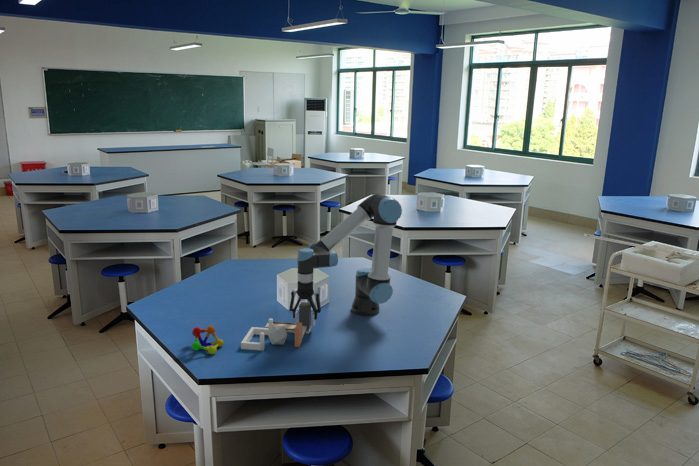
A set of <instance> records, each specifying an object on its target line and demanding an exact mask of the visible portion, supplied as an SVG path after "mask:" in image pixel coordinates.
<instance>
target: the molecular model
mask: <svg viewBox="0 0 699 466" xmlns="http://www.w3.org/2000/svg"><path fill="white" fill-rule="evenodd" d="M192 329H193V330H192V332H191V333H192V336H194V338H195V339H194V342H193V343H192V345H191V347H192V349H193V350H194V351H198V350H200V349H201V350H204V351H208V353H209V354H210V355H215V354H216V353H217V348H221V347H223V346H224V340H223V339H221V338H218V336H217V334H216V333H215V330H216V328H215V326H213V325H209V326H207V328H200V327H198V326H195V327H194V328H192ZM202 333H206V335H205V337H204V339H203V338H202V336H201V334H202ZM210 335H212V336H213V338H214V340H215V341H214V342H207V340H208V339H209V337H210Z"/></svg>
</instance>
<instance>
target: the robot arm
mask: <svg viewBox="0 0 699 466" xmlns="http://www.w3.org/2000/svg"><path fill="white" fill-rule="evenodd" d="M402 213H403V208H402V205H401V203H400V202H399V201H398V200H397V199H396V198H394V197H391V196H388V195H386V194H384V193H375V194H372V195H369V196H368V197H367V198H366V199H364V200H363V201H362V202H361V203H359V204H358V205H357V206H356V209H355V210H354V211H352V212H351V213H350V214H349V215H348V216H347V217H346V218H344V219H343V220H342V221H340V223H338V224H337V225H336V226H335V227H334V228H333V229H331V230H330V231H329V232H328V233H326V234H325V236H324V237H322V238H321V239H320V240H318V241H317V242H312V243H310V244H309V245H308V247H305V248H300V249H299V250H298V252H297V289H296V290H291V292H290V295H291V298H290V302H289V307H288V308H289V310H288V311H290V312H292V318H293V319H294V323H295V325H297V323H298V322H299V310H297V309H298V308H299V305H300V303H301V302H302V301H301V300H306V301H307V302H308V303H310V304H311V310H312V311H313V313H312V327H315V325H316V320H317V319H318V314H320V313H321V312H322V307H321V302H320V291H317V292H316V291H315V290H314V281H313V280H314V269H321V268H331V267H332V268H333V267H336V266H338V263H339V256H338V253H337V252H336V251H334V250H333V249H334V248H335V247H337V245H339V244H340V243H341V242H343V240H345V239H346V238H347V237H348V236H350V234H352V233H353V232H354V231H355V230H357V229H358V228H359V227H360V226H361V225H363V224H364V223H365V222H366V221H371V219H372V218H373V220H372V223H373V224H374V226H375V230H374V240H373V241H374V242H373V248H372V249H373V251H372V258H371V259H372V261H371V268H370V267H369V268H368V267H367V268H358V269H357V270H356V273H355V291H354V292H355V295H354V296H355V297H354V298H353V301H352V304H351V311H352V313H354V314H356V315H360V316H373V315H377V314H379V313H380V310H381V309H380V305H381V304H385V303H387V302H388V301H389V300H390V299H391V298H392V296H393V291H394V290H393V286H392V285H391V275H390V274H389V266H390V259H391V258H390V257H391V247H392V237H393V231H394V227H396V226H397V222H398V221H399V219H400V218H401V216H402ZM332 250H333V251H332ZM296 295H298V299H297V300H296V304H295V306H294V302H295V298H296ZM313 296H314V297H315V302H316V304H315V302H314V300H313V299H314V298H313Z"/></svg>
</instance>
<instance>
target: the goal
mask: <svg viewBox="0 0 699 466" xmlns="http://www.w3.org/2000/svg"><path fill="white" fill-rule="evenodd" d="M268 321H269V328H264V327H257V326H255V327H254V326H251V328H249V330H248V332H247V333H246V335H245V336H244V337H243V339H242V340H241V342H240V349H241V350H249V351H260V352H264V351H265V336H268V335H269V333H270V331H271V328H272V326H273V321H274V319H273V318H268ZM255 335H256V336H257V335H259V342H256V341H255V342H254V341H251V340H252V338H253V337H254V336H255Z"/></svg>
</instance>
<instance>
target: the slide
mask: <svg viewBox="0 0 699 466" xmlns="http://www.w3.org/2000/svg"><path fill="white" fill-rule="evenodd" d="M273 326H285V329H286V331H287V333H294V334H295V327H296V325H295V322H287V321H274V320H273ZM312 327H313V324H311V327H310V329H309V330H306V331H305V333H304V334H305V335H307V334H309V333H310V332H311V329H312ZM263 328H269V320H268V321H267V323H266V325H265V326H264V327H263Z"/></svg>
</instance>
